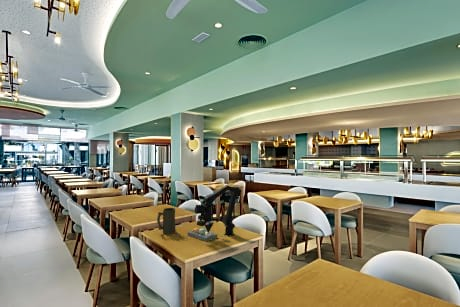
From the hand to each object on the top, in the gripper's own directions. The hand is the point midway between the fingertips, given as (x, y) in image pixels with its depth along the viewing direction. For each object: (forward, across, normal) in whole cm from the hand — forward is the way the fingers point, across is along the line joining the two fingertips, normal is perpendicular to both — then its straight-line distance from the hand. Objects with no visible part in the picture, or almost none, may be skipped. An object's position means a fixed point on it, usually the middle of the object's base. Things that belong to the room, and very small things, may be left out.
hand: (208, 232), depth 194 cm
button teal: (+3, 0, -7) cm, 8 cm away
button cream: (+4, 0, 0) cm, 4 cm away
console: (+4, 0, -7) cm, 8 cm away
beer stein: (+5, +14, -36) cm, 39 cm away
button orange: (+4, 0, -14) cm, 15 cm away
